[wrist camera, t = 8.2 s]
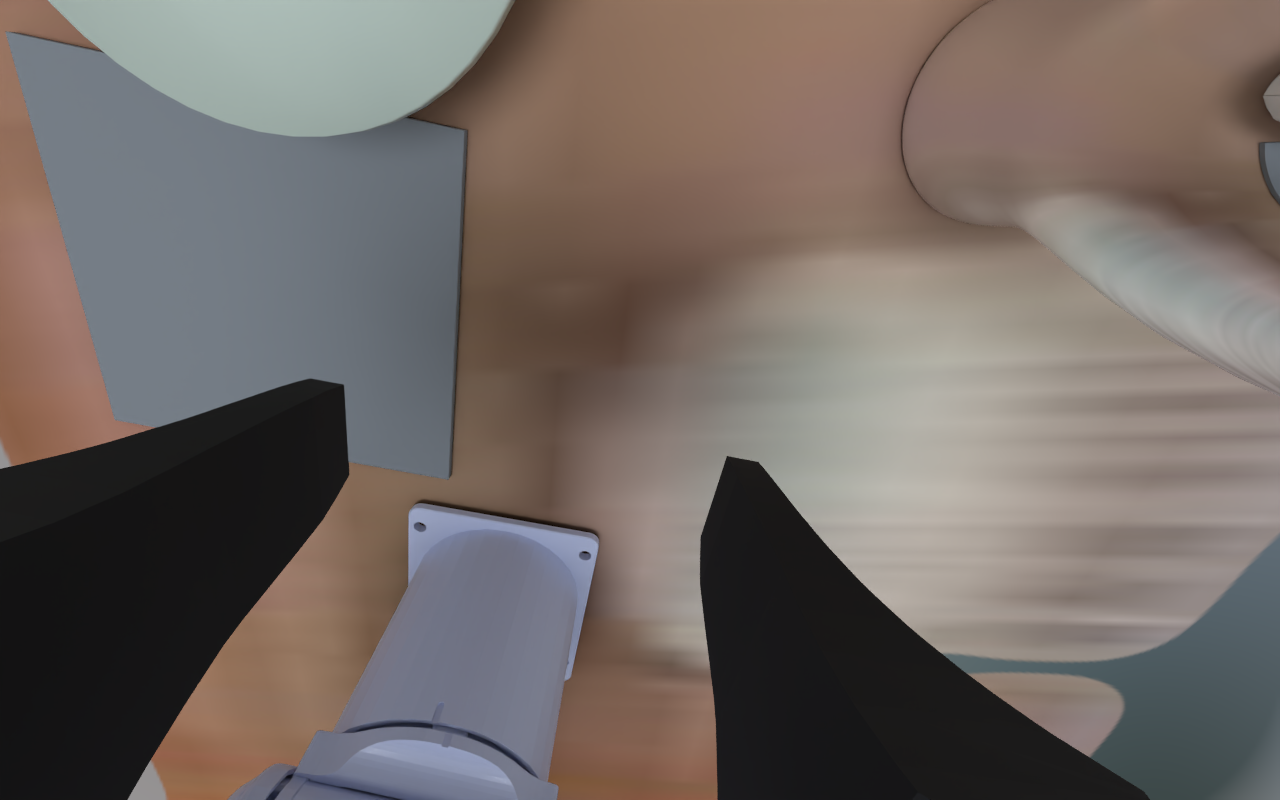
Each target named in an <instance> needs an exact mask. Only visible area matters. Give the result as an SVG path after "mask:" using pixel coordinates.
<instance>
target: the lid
mask: <svg viewBox="0 0 1280 800" xmlns="http://www.w3.org/2000/svg"><path fill="white" fill-rule="evenodd" d="M48 1H49V2H50V3H51V4H52V5H53V6H54V7H55V8H56V9H57V10H58V11H59V12H60V13H61V14H62V15H63V16H64V17H65V18H66V19H67V20H68V21H69V22H70V23H71V24H72V25H73V26H74V27H75V28H76V29H77V30H78V31H79V32H80V33H82V34H83V35H84V36H85V37H86V38H87V39H88V40H90V41H91V42H92V43H93V44H95V45H96V46H97V47H98V48H99V49H101V50H102V51H103V52H104V53H105V54H107V55H108V56H109V57H110V58H112V59H113V60H114V61H115V62H116V63H118V64H119V65H120V66H122V67H123V68H125V69H126V70H128V71H129V72H131V73H132V74H134V75H135V76H136V77H138V78H139V79H141V80H142V81H144V82H145V83H147V84H148V85H150V86H151V87H153V88H154V89H156V90H158V91H160V92H161V93H163V94H165V95H167V96H169V97H171V98H173V99H174V100H176V101H178V102H180V103H182V104H184V105H185V106H187V107H189V108H191V109H194V110H196V111H199V112H201V113H203V114H206V115H208V116H211V117H213V118H216V119H218V120H221V121H223V122H226V123H229V124H233V125H237V126H240V127H244V128H247V129H251V130H255V131H258V132H264V133H271V134H278V135H285V136H292V137H327V136H335V135H343V134H349V133H356V132H362V131H368V130H372V129H375V128H378V127H381V126H385V125H388V124H391V123H394V122H397V121H400V120H402V119H403V118H405V117H407V116H409V115H411V114H413V113H415V112H417V111H419V110H421V109H423V108H425V107H427V106H428V105H429V104H431V103H432V102H433V101H435V100H436V99H437V98H439V97H440V96H442V95H443V94H444V93H446V92H447V91H448V90H450V89H451V88H452V87H453V86H454V85H455V84H456V83H457V82H458V81H459V80H460V79H461V78H462V77H463V76H464V75H465V74H466V73H467V72H468V71H469V70H470V69H471V68H472V67H473V66H474V65H475V64H476V63H477V61H478V60H479V59H480V57H481V56H482V54H483V53H484V52H485V50H486V49H487V48H488V46H489V45H490V43H491V42H492V41H493V39H494V38H495V37H496V35H497V34H498V32H499V30H500V28H501V26H502V24H503V22H504V21H505V19H506V17H507V15H508V13H509V11H510V9H511V8H512V6H513V4H514V2H515V0H48Z"/></svg>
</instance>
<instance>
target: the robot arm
mask: <svg viewBox="0 0 1280 800" xmlns="http://www.w3.org/2000/svg"><path fill="white" fill-rule="evenodd" d="M348 476H349V461H348V444H347V426H346V409H345V391H344V385H343V384H338V383H333V382H327V381H322V380H317V379H311V378H310V379H306V380H301V381H297V382H294V383H290V384H287V385H284V386H281V387H278V388H275V389H271V390H268V391H265V392H262V393H260V394H257V395H254V396H251V397H248V398H245V399H242V400H239V401H236V402H233V403H230V404H227V405H224V406H222V407H219V408H216V409H213V410H210V411H207V412H204V413H201V414H198V415H195V416H192V417H189V418H186V419H183V420H180V421H176V422H173V423H170V424H167V425H163V426H160V427H157V428H154V429H151V430H147V431H144V432H141V433H138V434H134V435H131V436H128V437H125V438H121V439H118V440H115V441H111V442H108V443H104V444H101V445H97V446H93V447H89V448H86V449H82V450H78V451H74V452H70V453H66V454H62V455H58V456H54V457H50V458H46V459H41V460H37V461H33V462H29V463H25V464H21V465H16V466H11V467H7V468H3V469H0V800H127V799H128V798H129V796H130V794H131V792H132V790H133V789H134V787H135V786H136V784H137V782H138V780H139V779H140V777H141V775H142V773H143V772H144V770H145V768H146V767H147V765H148V763H149V762H150V760H151V758H152V757H153V755H154V754H155V752H156V750H157V749H158V747H159V745H160V744H161V742H162V741H163V739H164V737H165V736H166V734H167V733H168V731H169V729H170V728H171V726H172V724H173V723H174V721H175V720H176V718H177V716H178V715H179V713H180V712H181V710H182V708H183V707H184V705H185V703H186V702H187V700H188V699H189V697H190V696H191V694H192V693H193V691H194V690H195V688H196V687H197V685H198V683H199V682H200V680H201V679H202V677H203V676H204V674H205V673H206V671H207V670H208V668H209V667H210V665H211V664H212V662H213V661H214V659H215V658H216V656H217V654H218V653H219V651H220V650H221V648H222V647H223V645H224V644H225V643H226V641H227V640H228V639H229V637H230V636H231V635H232V633H233V632H234V631H235V629H236V628H237V627H238V625H239V624H240V623H241V621H242V620H243V619H244V617H245V616H246V615H247V614H248V612H249V611H250V610H251V609H252V608H253V606H254V605H255V604H256V603H257V601H258V600H259V599H260V598H261V596H262V595H263V594H264V593H265V591H266V590H267V589H268V588H269V587H270V585H271V584H272V583H273V582H274V580H275V579H276V578H277V577H278V575H279V574H280V573H281V572H282V570H283V569H284V568H285V567H286V565H287V564H288V563H289V562H290V561H291V559H292V558H293V557H294V556H295V554H296V553H297V552H298V551H299V549H300V548H301V547H302V546H303V544H304V543H305V542H306V540H307V539H308V538H309V537H310V535H311V534H312V533H313V532H314V530H315V529H316V528H317V526H318V525H319V524H320V523H321V521H322V520H323V519H324V517H325V515H326V514H327V512H328V510H329V509H330V507H331V506H332V504H333V502H334V501H335V499H336V497H337V496H338V494H339V492H340V490H341V488H342V487H343V485H344V483H345V481H346V480H347V478H348ZM418 522H421V523H423V524H424V525H425V526H423V525H420V524H419V523H418ZM598 548H599V539H598V537H597V536H596V535H594V534H592V533H589V532H583V531H578V530H572V529H566V528H561V527H555V526H549V525H543V524H538V523H532V522H526V521H521V520H515V519H509V518H504V517H498V516H492V515H487V514H481V513H475V512H470V511H464V510H458V509H453V508H447V507H441V506H436V505H430V504H424V503H418V504H415V505H414V506H413V507H412V509H411V510H410V512H409V527H408V588H407V590H406V591H405V593H404V595H403V597H402V599H401V601H400V603H399V605H398V607H397V609H396V611H395V613H394V615H393V616H392V618H391V620H390V622H389V624H388V626H387V628H386V630H385V632H384V634H383V636H382V638H381V640H380V641H379V643H378V645H377V647H376V649H375V651H374V653H373V655H372V657H371V659H370V661H369V663H368V665H367V666H366V668H365V670H364V672H363V674H362V676H361V678H360V680H359V682H358V684H357V686H356V688H355V690H354V691H353V693H352V695H351V697H350V699H349V701H348V703H347V705H346V707H345V709H344V711H343V713H342V715H341V716H340V718H339V720H338V722H337V724H336V726H335V728H334V730H333V732H328V731H323V730H320V731H317V732H316V734H315V736H314V738H313V739H312V741H311V743H310V745H309V747H308V749H307V750H306V752H305V754H304V756H303V758H302V760H301V761H300V763H299V765H298V767H296V766H292V765H287V764H280V763H279V764H274V765H272V766H270V767H269V768H267V769H265V770H264V771H263V772H262V773H261V774H260V775H259V776H257V777H256V778H254V779H252V780H251V781H249V782H247V783H246V784H244V785H243V786H241V787H240V788H239V789H237V790H236V791H235V792H234V793H233V794H232V795H231V796H230V797H229V798H228V799H227V800H557V795H558V786H557V785H556V784H553V783H549V782H548V776H549V770H550V764H551V758H552V752H553V746H554V740H555V734H556V728H557V722H558V716H559V710H560V704H561V699H562V693H563V687H564V681H565V680H568V679H569V678H570V677H571V673H572V669H573V664H574V659H575V655H576V650H577V646H578V641H579V636H580V632H581V627H582V622H583V618H584V613H585V608H586V604H587V599H588V595H589V590H590V585H591V581H592V576H593V571H594V567H595V562H596V557H597V553H598ZM582 551H587V552H589V554H584V553H582ZM700 587H701V596H702V604H703V613H704V621H705V630H706V638H707V646H708V654H709V662H710V670H711V678H712V686H713V694H714V705H715V717H716V742H717V782H718V800H1150V799H1149V798H1148V796H1147V795H1146V794H1145V792H1143V791H1142V790H1140V789H1139V788H1137V787H1136V786H1134V785H1132V784H1131V783H1129V782H1128V781H1126V780H1124V779H1123V778H1121V777H1120V776H1118V775H1116V774H1115V773H1113V772H1112V771H1110V770H1108V769H1107V768H1105V767H1104V766H1102V765H1100V764H1099V763H1097V762H1096V761H1094V760H1093V759H1091V758H1089V757H1088V756H1086V755H1085V754H1083V753H1081V752H1080V751H1078V750H1077V749H1075V748H1073V747H1072V746H1070V745H1069V744H1067V743H1065V742H1064V741H1062V740H1061V739H1059V738H1057V737H1056V736H1054V735H1053V734H1051V733H1050V732H1048V731H1047V730H1045V729H1044V728H1042V727H1041V726H1039V725H1038V724H1036V723H1035V722H1033V721H1032V720H1031V719H1029V718H1028V717H1026V716H1025V715H1023V714H1022V713H1021V712H1019V711H1018V710H1016V709H1015V708H1013V707H1012V706H1011V705H1009V704H1008V703H1006V702H1005V701H1003V700H1002V699H1001V698H999V697H998V696H996V695H995V694H993V693H992V692H991V691H989V690H988V689H987V688H985V687H984V686H983V685H981V684H980V683H979V682H977V681H976V680H975V679H973V678H972V677H971V676H969V675H968V674H966V673H965V672H964V671H962V670H961V669H960V668H959V667H957V666H956V665H955V664H954V663H953V662H951V661H950V660H949V659H948V658H946V657H945V656H944V655H943V654H941V653H940V652H939V651H938V650H936V649H935V648H934V647H933V646H931V645H930V644H929V643H928V642H926V641H925V640H924V639H923V638H922V637H920V636H919V635H918V634H917V633H916V632H914V631H913V630H912V629H911V628H910V627H909V626H907V625H906V624H905V623H904V622H903V621H902V620H901V619H900V618H899V617H897V616H896V615H895V614H894V613H893V612H892V611H891V610H890V609H889V608H888V607H887V606H886V605H884V604H883V603H882V602H881V601H880V600H879V599H878V598H877V597H876V596H875V595H874V594H873V593H872V592H871V591H870V590H868V589H867V588H866V587H865V586H864V585H863V584H862V583H861V582H860V581H859V580H858V579H857V578H856V577H855V575H854V574H853V573H852V572H851V571H850V570H849V569H848V568H847V567H846V566H845V565H844V564H843V563H842V562H841V560H840V559H839V558H838V557H837V556H836V555H835V554H834V553H833V552H832V551H831V550H830V549H829V547H828V546H827V545H826V544H825V543H824V542H823V541H822V539H821V538H820V537H819V536H818V535H817V534H816V532H815V531H814V530H813V529H812V528H811V527H810V525H809V524H808V523H807V522H806V521H805V519H804V518H803V517H802V516H801V514H800V513H799V512H798V511H797V510H796V508H795V507H794V506H793V505H792V503H791V502H790V501H789V499H788V498H787V497H786V496H785V494H784V493H783V492H782V491H781V489H780V488H779V487H778V486H777V484H776V483H775V482H774V481H773V479H772V478H771V477H770V475H769V474H768V473H767V472H766V471H765V469H764V468H763V467H762V466H761V465H760V464H759V462H755V461H750V460H744V459H739V458H734V457H728V456H727V458H726V461H725V464H724V467H723V470H722V473H721V476H720V480H719V483H718V486H717V489H716V492H715V495H714V498H713V501H712V504H711V507H710V510H709V513H708V516H707V519H706V522H705V526H704V529H703V532H702V535H701V548H700Z"/></svg>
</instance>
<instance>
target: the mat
mask: <svg viewBox="0 0 1280 800" xmlns="http://www.w3.org/2000/svg"><path fill="white" fill-rule="evenodd" d="M6 35H7V39H8V42H9V46H10V49H11V53H12V56H13V60H14V64H15V67H16V71H17V74H18V78H19V81H20V85H21V88H22V92H23V96H24V99H25V103H26V106H27V110H28V113H29V117H30V120H31V124H32V127H33V131H34V135H35V138H36V142H37V145H38V149H39V152H40V156H41V159H42V163H43V167H44V170H45V174H46V177H47V181H48V184H49V188H50V191H51V195H52V198H53V202H54V206H55V209H56V213H57V216H58V220H59V223H60V227H61V230H62V234H63V238H64V241H65V245H66V248H67V252H68V255H69V259H70V262H71V266H72V269H73V273H74V277H75V280H76V284H77V287H78V291H79V294H80V298H81V301H82V305H83V309H84V312H85V316H86V319H87V323H88V326H89V330H90V333H91V337H92V340H93V344H94V348H95V351H96V355H97V358H98V362H99V365H100V369H101V372H102V376H103V379H104V383H105V387H106V390H107V394H108V397H109V401H110V404H111V408H112V411H113V415H114V419H115V420H118V421H123V422H129V423H135V424H140V425H146V426H151V427H160V426H163V425H167V424H170V423H173V422H176V421H180V420H183V419H186V418H189V417H192V416H195V415H198V414H201V413H204V412H207V411H210V410H213V409H216V408H219V407H222V406H224V405H227V404H230V403H233V402H236V401H239V400H242V399H245V398H248V397H251V396H254V395H257V394H260V393H262V392H265V391H268V390H271V389H275V388H278V387H281V386H284V385H287V384H290V383H294V382H297V381H301V380H306V379H310V378H311V379H317V380H322V381H327V382H333V383H338V384H343V385H344V391H345V409H346V426H347V444H348V461H349V462H353V463H358V464H364V465H369V466H375V467H380V468H386V469H392V470H397V471H403V472H408V473H414V474H420V475H425V476H431V477H436V478H442V479H447V480H449V478H450V476H451V464H452V443H453V422H454V401H455V380H456V359H457V338H458V317H459V296H460V276H461V255H462V234H463V213H464V192H465V171H466V150H467V130H464V129H459V128H454V127H450V126H445V125H441V124H436V123H431V122H427V121H422V120H417V119H413V118H408V117H405V118H403V119H402V120H400V121H397V122H394V123H391V124H388V125H385V126H381V127H378V128H375V129H372V130H368V131H362V132H356V133H349V134H343V135H335V136H327V137H292V136H285V135H278V134H271V133H264V132H258V131H255V130H251V129H247V128H244V127H240V126H237V125H233V124H229V123H226V122H223V121H221V120H218V119H216V118H213V117H211V116H208V115H206V114H203V113H201V112H199V111H196V110H194V109H191V108H189V107H187V106H185V105H184V104H182V103H180V102H178V101H176V100H174V99H173V98H171V97H169V96H167V95H165V94H163V93H161V92H160V91H158V90H156V89H154V88H153V87H151V86H150V85H148V84H147V83H145V82H144V81H142V80H141V79H139V78H138V77H136V76H135V75H134V74H132V73H131V72H129V71H128V70H126V69H125V68H123V67H122V66H120V65H119V64H118V63H116V62H115V61H114V60H113V59H112V58H110V57H109V56H108V55H107V54H105V53H104V52H103V51H99V50H94V49H90V48H85V47H80V46H76V45H71V44H66V43H62V42H57V41H53V40H48V39H43V38H39V37H34V36H30V35H25V34H20V33H15V32H6Z"/></svg>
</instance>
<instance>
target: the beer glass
mask: <svg viewBox="0 0 1280 800" xmlns="http://www.w3.org/2000/svg"><path fill="white" fill-rule="evenodd" d="M902 150H903V157H904V162H905V166H906V169H907V172H908V175H909V177H910V180H911V182H912V184H913V185H914V187H915V189H916V190H917V192H918V193H919V194H920V196H921V197H922V198H923V199H924V200H925V201H926V202H927V203H928V204H929V205H930V206H931V207H932V208H933V209H935V210H936V211H938V212H939V213H941V214H943V215H944V216H947V217H949V218H951V219H954V220H957V221H960V222H963V223H967V224H973V225H981V226H998V227H1016V228H1019V229H1021V230H1023V231H1025V232H1027V233H1028V234H1030V235H1031V236H1032V237H1034V238H1035V239H1036V240H1037V241H1039V242H1040V243H1041V244H1042V245H1044V246H1045V247H1046V248H1047V249H1048V250H1049V251H1050V252H1052V253H1053V254H1054V255H1055V256H1056V257H1057V258H1059V259H1060V260H1061V261H1062V262H1063V263H1064V264H1066V265H1067V266H1068V267H1069V268H1070V269H1072V270H1073V271H1074V272H1075V273H1076V274H1078V275H1079V276H1080V277H1081V278H1082V279H1084V280H1085V281H1086V282H1087V283H1089V284H1090V285H1091V286H1092V287H1093V288H1095V289H1096V290H1097V291H1098V292H1099V293H1101V294H1102V295H1103V296H1104V297H1106V298H1107V299H1109V300H1110V301H1111V302H1113V303H1114V304H1116V305H1117V306H1119V307H1120V308H1121V309H1123V310H1124V311H1126V312H1127V313H1129V314H1130V315H1131V316H1133V317H1134V318H1136V319H1137V320H1139V321H1140V322H1141V323H1143V324H1144V325H1146V326H1147V327H1148V328H1150V329H1151V330H1153V331H1154V332H1156V333H1157V334H1159V335H1160V336H1162V337H1163V338H1165V339H1167V340H1169V341H1171V342H1173V343H1175V344H1176V345H1178V346H1180V347H1182V348H1184V349H1186V350H1188V351H1189V352H1191V353H1193V354H1195V355H1197V356H1199V357H1201V358H1202V359H1204V360H1206V361H1208V362H1210V363H1212V364H1214V365H1215V366H1217V367H1219V368H1221V369H1223V370H1225V371H1227V372H1228V373H1230V374H1232V375H1234V376H1236V377H1238V378H1240V379H1242V380H1244V381H1246V382H1249V383H1251V384H1253V385H1255V386H1258V387H1260V388H1262V389H1264V390H1266V391H1269V392H1271V393H1273V394H1275V395H1278V396H1280V0H992V1H990V2H988V3H986V4H985V5H983V6H982V7H980V8H979V9H977V10H976V11H974V12H973V13H972V14H970V15H969V16H968V17H966V18H965V19H964V20H963V21H961V22H960V23H959V24H958V25H957V26H956V27H955V28H954V29H952V30H951V31H950V32H949V33H948V34H947V36H946V37H945V38H944V39H943V40H942V41H941V42H940V43H939V45H938V46H937V47H936V48H935V50H934V51H933V52H932V54H931V55H930V57H929V58H928V60H927V61H926V63H925V64H924V66H923V68H922V69H921V71H920V73H919V75H918V77H917V79H916V81H915V83H914V86H913V88H912V90H911V93H910V96H909V99H908V102H907V106H906V110H905V114H904V120H903V128H902Z"/></svg>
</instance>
